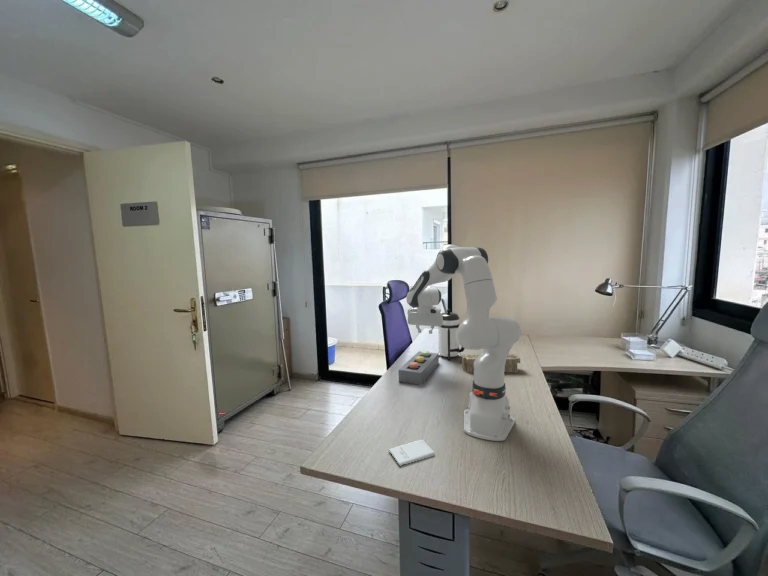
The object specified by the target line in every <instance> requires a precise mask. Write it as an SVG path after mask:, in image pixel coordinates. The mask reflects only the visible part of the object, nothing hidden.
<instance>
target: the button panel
mask: <svg viewBox="0 0 768 576" xmlns="http://www.w3.org/2000/svg"><path fill="white" fill-rule="evenodd" d="M421 352H422V351H419V350H418V352H417V353H416V354H414V355H413V356H412V357H411V358H410V359H409V360H408V361H407V362H406V363H404V364H403V365H402V366H401V367H400V368H399V369H398V382H401V381H402V383H410V384H415V385H420V384H421V385H422V384H423V383H424V382H425V381H426V380H427V378H428V377H429V376H430V375H431V373H432V372H433V371H434V370H435V368H437V366H438V365H439V364H440V362H439V361H440V360H439V359H440V358H439V357H440V356H439V355H440V352H439V353H438V352H430V356H428V357H424V362H421V363H419V362H417V363H418V368H417V369H411V368H409V363H410V362H416V360H415V357H417V356H421Z"/></svg>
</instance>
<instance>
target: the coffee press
mask: <svg viewBox="0 0 768 576" xmlns="http://www.w3.org/2000/svg"><path fill="white" fill-rule="evenodd" d="M441 314H442V317H443V325H442V326H441V327H438V352H437V353H439V357H440V356H441V357H442V356H443V357H447V360H448V361H451V358H453V357H459V358H462V354H461V353H462V352H464V351H465V349H464V348H463V347H462V346H461V348H460V344H459V342H458V340H457V329H458V327H459V325H460V316H459V314H458V313H455V312H452V311H451V309H450V308H447V309H446V312H442V313H441ZM459 354H460V355H459Z"/></svg>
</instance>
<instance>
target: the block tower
mask: <svg viewBox="0 0 768 576" xmlns="http://www.w3.org/2000/svg"><path fill="white" fill-rule="evenodd" d="M479 355H480V354H461V367H462V370H463V371H464V372H466V373H474V361H475V359H476V358H477V357H478V356H479ZM518 364H521V357H519V356H518V354H516V353H515V354H514V353H511V354H510V353H509V354H508V356H507V359H506V362H505V371H504V372H519V371H518Z"/></svg>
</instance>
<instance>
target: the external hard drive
mask: <svg viewBox="0 0 768 576" xmlns="http://www.w3.org/2000/svg"><path fill="white" fill-rule="evenodd" d="M389 451H390V453H391V454H392V456H393V457H394V458H395V459H394V458H393V457H392V458H393V459H394V461H395V460H396V461H397V462H396V461H395V462H396V464H397V463H398V464H399V465H403V464H407V463H410V464H412V463H411V462H413V463H415V462H414V461H416V462H418V461H417V460H419V461H422V460H425V459H428V458H431V457H434V456H435V454H436V453H435V451H434V450H433V448H431V447H430V446H429V445H428V444H427V443H426V442H425V441H424V440H423V439H418V440H415V441H411V442H409V443H405V444H402V445H398V446H395V447H391V448H389V449H388V452H389ZM390 453H389V454H390ZM391 454H390V455H391ZM424 458H425V459H424ZM421 459H422V460H421ZM398 464H397V465H398ZM399 465H398V466H399ZM407 465H408V464H407Z"/></svg>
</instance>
